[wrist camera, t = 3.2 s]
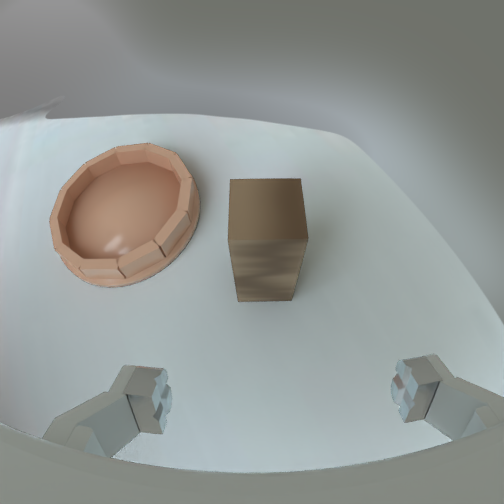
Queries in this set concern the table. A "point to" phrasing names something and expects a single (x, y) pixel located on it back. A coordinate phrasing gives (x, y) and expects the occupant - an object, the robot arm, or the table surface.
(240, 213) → the walnut block
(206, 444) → the table surface
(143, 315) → the table surface
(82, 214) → the dish
